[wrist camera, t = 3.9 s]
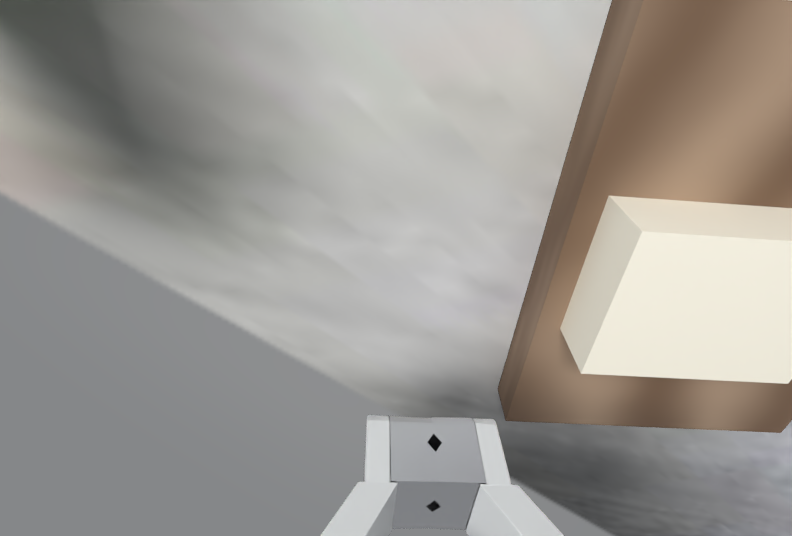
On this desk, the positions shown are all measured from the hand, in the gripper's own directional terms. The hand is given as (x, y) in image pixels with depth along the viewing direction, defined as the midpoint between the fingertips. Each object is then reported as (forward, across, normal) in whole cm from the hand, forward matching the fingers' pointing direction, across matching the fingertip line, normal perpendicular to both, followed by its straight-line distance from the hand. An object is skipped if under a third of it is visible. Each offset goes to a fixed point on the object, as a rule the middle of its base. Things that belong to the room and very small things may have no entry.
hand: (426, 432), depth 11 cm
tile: (+7, -10, 0) cm, 13 cm away
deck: (+9, -12, 0) cm, 16 cm away
